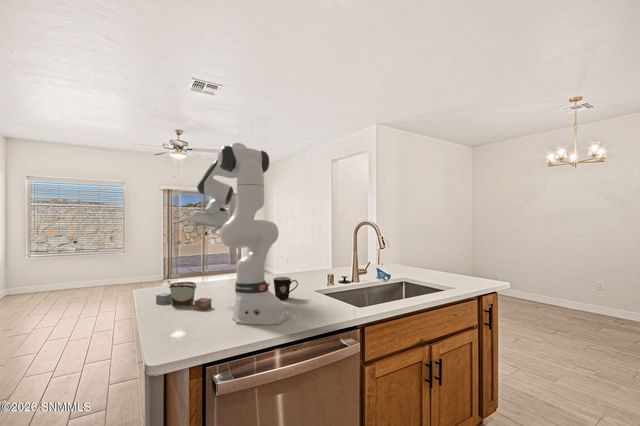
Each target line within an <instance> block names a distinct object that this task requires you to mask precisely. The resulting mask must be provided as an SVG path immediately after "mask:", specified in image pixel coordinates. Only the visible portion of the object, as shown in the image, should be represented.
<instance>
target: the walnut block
mask: <svg viewBox="0 0 640 426" xmlns="http://www.w3.org/2000/svg"><path fill="white" fill-rule="evenodd" d="M193 306H194V307H193V308H194V309H193V310H194V311H195V310H196V311H206V310H208V309H210V308H212V298H209V297H208V298H207V297H200V298H198V299H194V302H193Z"/></svg>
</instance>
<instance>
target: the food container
mask: <svg viewBox="0 0 640 426" xmlns="http://www.w3.org/2000/svg"><path fill="white" fill-rule="evenodd" d="M169 289H170V293H171V300H172V302H171V306H172V307H189V308H190V307H191V308H192V307H193V306H194V301H195V292H196V289H197V284H196V282H195V281H179V282H173V283H170V285H169Z"/></svg>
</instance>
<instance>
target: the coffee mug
mask: <svg viewBox="0 0 640 426" xmlns="http://www.w3.org/2000/svg"><path fill="white" fill-rule="evenodd" d="M293 282H296V285H295V287H294V288H293V289H292V288H291V284H292V283H293ZM298 285H299V283H298V281H297V280H295V279H291V277H290V276H289V277H288V276H277V277H273V287H274V295H275V296H276V297H277V298H279V299H280V300H281V301H286V300H289V299H290V298H289V297H290V293H291V292H293V291H294V290H295V289H297V288H298ZM290 288H291V290H290Z"/></svg>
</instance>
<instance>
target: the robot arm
mask: <svg viewBox="0 0 640 426" xmlns="http://www.w3.org/2000/svg"><path fill="white" fill-rule="evenodd" d="M269 166H270V156H269V155H268V152H267V151H264V150H261V149H255V148H250V147H247V146H246V145H245V144H243V143H241V142H234V143H233V142H232V144H230V145H223V146H222V147H220V149H219V150H218V153H217V159H216V160H214V161H213V162H212V164H211V165H210V166H209V167H208V169H207V170H206V172H204V174H203V176H202V177H201V178H200V179H199V180H198V182H197V185H196V189H197V190H198V192H199V194H202V195H204V196H208V197H210V199H209V202H208V203H207V205H206V207H205V208H204V209H201V210H200V209H196V210H194V211H193V212H192V213H191V215H190V217H189V218H188V222H189V223H190V225H192V226H194V227H193V232H197V233H198V231H199V228H198V227H199V226H200V227H208V228H212V230H211V231H210V233H211V234H212V235H215V234H216V233H217V231H219V230H220V231H219V232H220V233H219V237H220V240H221V242H222V244H223V245H224V246H225V247H228V248H235V249H241V248H242V249H243V248H247V249H246V251H245V253H244V255H243V256H242V257H241V258H239V259H238V260H237V263H236V281H235V286H234V287H235V301H234V308H233V309H234V310H233V312H232V316H231V318H232V320H234V321H235V324H240V325H241V324H242V325H243V324H244V325H269V326H270V325H272V326H273V325H278V324H280V323H283V322H284V321H286V320H287V319H288V318H289V317H290V316H289V312H288V311H284V306H283V302H282V300H280V299H279V298H277V297H276V296H275V293H273V292H271V291H270V290H269V286H271V282H268V283H267V281H266V280H265V268H266V267H265V266H266V260H267V256H268V254H269V251H270V249H271V248H272V246H273V244H275V243H276V242H277V240H278V238H279V227H278V226H277V224H276V223H275V222H272V221H269V220H266V219H264V220H263V219H255V216H256V214H257V212H258V211H260V210H261V209H262V208H263V207H264V205H265V178H264V174H265V173H266V172H267V171H268V170H269ZM214 176H217V177H218V176H219V177H223V178H227V179H236V201H235V203H236V204H235V208H234V211H233V213H232V215H231V216H230V213H229V210H228V209H226V208H225V207H226V205H228V204H229V203H230V202H231V201H232V197H233V195H234V189H233V186H232V185H229V184H228V183H225V182H223V181H220V180H218V179H216V178H214ZM213 228H214V229H213Z"/></svg>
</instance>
